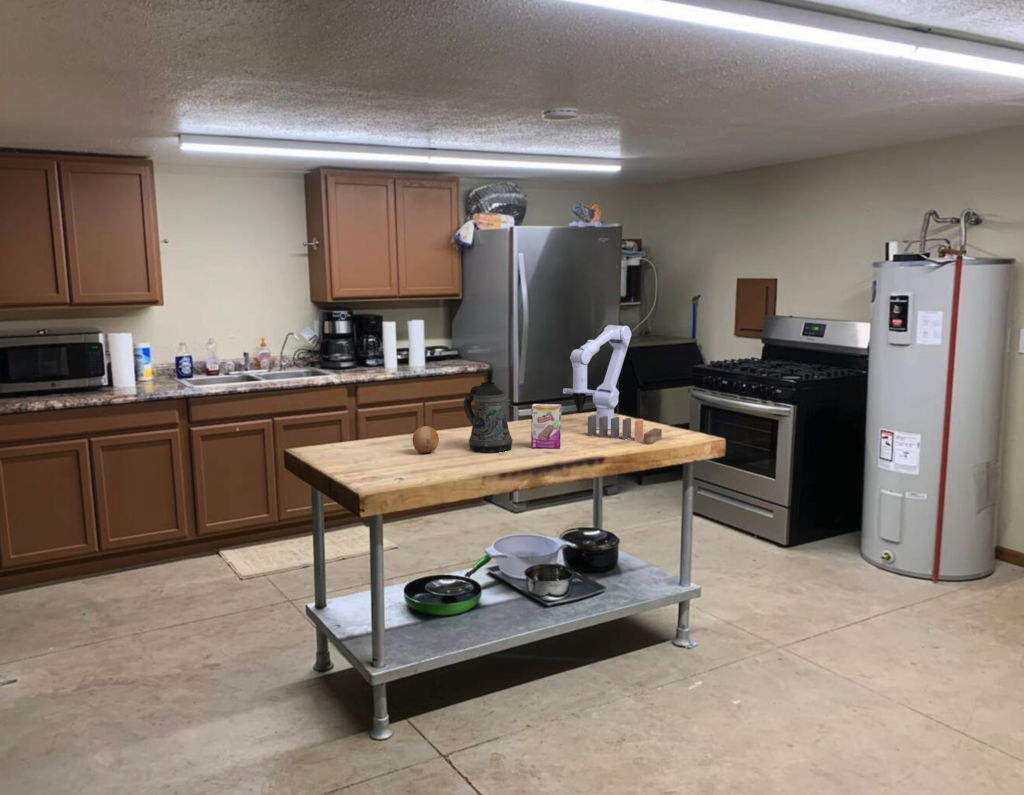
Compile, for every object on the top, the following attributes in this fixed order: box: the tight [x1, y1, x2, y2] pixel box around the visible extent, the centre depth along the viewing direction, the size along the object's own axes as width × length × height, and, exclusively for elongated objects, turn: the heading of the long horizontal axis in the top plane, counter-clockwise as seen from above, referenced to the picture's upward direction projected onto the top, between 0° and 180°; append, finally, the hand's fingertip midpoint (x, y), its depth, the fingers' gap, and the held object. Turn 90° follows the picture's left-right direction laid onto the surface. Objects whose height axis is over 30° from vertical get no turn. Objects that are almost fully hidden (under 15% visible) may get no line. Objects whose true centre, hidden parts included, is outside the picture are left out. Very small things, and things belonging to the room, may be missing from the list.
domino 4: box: [621, 417, 632, 440], centre depth 318 cm, size 2×5×8 cm, turn 150°
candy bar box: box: [530, 403, 562, 450], centre depth 303 cm, size 11×5×16 cm, turn 84°
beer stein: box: [463, 381, 513, 454], centre depth 301 cm, size 16×19×25 cm
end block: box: [643, 427, 663, 445], centre depth 313 cm, size 3×12×4 cm, turn 150°
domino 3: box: [610, 416, 620, 439], centre depth 321 cm, size 2×5×8 cm, turn 150°
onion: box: [412, 425, 440, 454], centre depth 296 cm, size 10×10×10 cm
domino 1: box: [587, 414, 597, 437], centre depth 326 cm, size 2×5×8 cm, turn 150°
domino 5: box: [634, 418, 644, 442], centre depth 316 cm, size 2×5×8 cm, turn 150°
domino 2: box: [598, 416, 609, 438], centre depth 323 cm, size 2×5×8 cm, turn 150°
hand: (579, 412), depth 327 cm, fingers closed
